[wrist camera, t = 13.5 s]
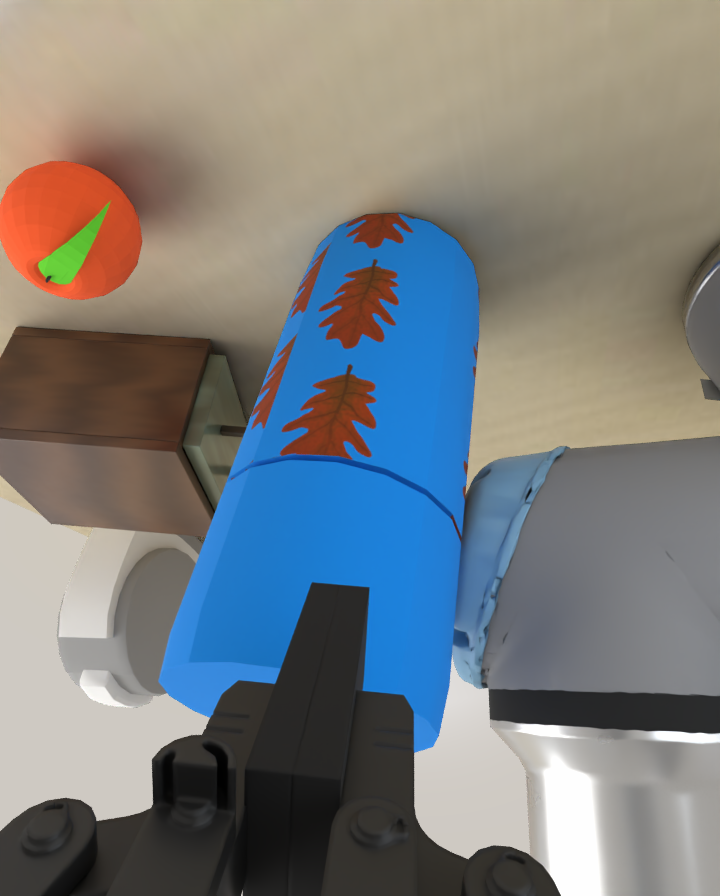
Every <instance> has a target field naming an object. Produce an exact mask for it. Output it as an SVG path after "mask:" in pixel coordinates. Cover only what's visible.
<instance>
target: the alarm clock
mask: <svg viewBox="0 0 720 896" xmlns="http://www.w3.org/2000/svg"><path fill="white" fill-rule="evenodd" d="M202 546H203V543H202V542H201V541H200V540H199V539H197V538H196V537H195V536H188V535H176V534H165V533H153V532H141V531H130V530H118V529H106V528H95V527H94V528H93V529H92V531H91V533H90V535H89V537H88V539H87V541H86V543H85V545H84V548H83V550H82V552H81V554H80V556H79V559H78V561H77V563H76V565H75V568H74V570H73V573H72V575H71V578H70V580H69V583H68V586H67V589H66V592H65V594H64V597H63V601H62V604H61V608H60V612H59V616H58V631H57V638H58V646H59V654H60V657H61V660H62V662H63V665H64V667H65V670H66V672H67V673H68V674H69V676H70V677H71V679H72V680H73V681H74V682H75V684H76V685H78V686H80V687H81V688H82V689H83V690H84V692H85V693H86V694H87V695H88V697H89V698H90V699H92V700H95V701H97V702H99V703H101V704H105V705H110V706H117V707H133V708H137V707H140V706H143V705H146V704H149V703H150V701H151V700H152V698H153V696H160V695H163V694H165V693H167V692H166V691H165V689H164V688H163V687H162V686H161V684H160V683H159V682H158V681H159V677H160V673H161V669H162V664H163V660H164V656H165V652H166V648H167V644H168V639H169V635H170V632H171V629H172V627H173V624H174V621H175V619H176V616H177V613H178V611H179V608H180V605H181V603H182V600H183V597H184V595H185V592H186V589H187V586H188V584H189V581H190V578H191V576H192V573H193V570H194V568H195V565H196V562H197V560H198V557H199V554H200V552H201V549H202Z"/></svg>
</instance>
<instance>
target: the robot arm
mask: <svg viewBox="0 0 720 896" xmlns="http://www.w3.org/2000/svg"><path fill="white" fill-rule="evenodd" d="M682 319H683V325H684V329H685V333H686V338H687V342H688V345H689V347H690V350H691V352H692V354H693V356H694V358H695V360H696V362H697V363H698V365H699V366H700V367H701V369H702V370H703V371H704V372H705V373H706V374H707V375H708V377H709V378H710V379H711V380H704V379H700V380H701V384H702V388H703V392H704V396H705V399H710V400H720V244H719V245H718V246H717V247H716V248H715V249H714V250H713V252H712V253H711V254H710V255H709V256H708V257H707V258H706V260H705V261H704V262H703V263H702V265H701V266H700V268H699V269H698V271H697V272H696V274H695V275H694V277H693V279H692V281H691V283H690V284H689V287H688V289H687V292H686V294H685V298H684V302H683V309H682ZM369 590H370V587H361V586H349V585H338V584H327V583H315V582H312V583H311V586H310V589H309V592H308V594H307V597H306V600H305V603H304V605H303V608H302V611H301V614H300V617H299V619H298V622H297V625H296V628H295V630H294V633H293V636H292V639H291V641H290V644H289V647H288V650H287V653H286V655H285V658H284V661H283V664H282V666H281V669H280V672H279V675H278V678H277V680H276V683H275V684H272V683H262V682H252V681H242V680H238V681H237V682H236V683H235V684H233V685H232V686H231V687H230V688H229V689H227V690H226V691H225V692H224V693H223V694H222V695H221V697H220V699H219V701H218V703H217V705H216V707H215V709H214V711H213V715H211V717H210V719H209V722H208V724H207V726H206V729H205V730H204V732H203V734H202V735H191V736H188V737H184V738H180V739H177V740H174V741H173V742H171V743H170V744H168V745H166V746H165V747H163V748H161V750H160V751H159V752H158V753H157V754H156V756H155V757H154V758H153V759H152V778H153V805H152V807H151V808H150V809H148V810H146V811H144V812H141V813H138V814H134V815H130V816H126V817H120V818H114V819H108V820H102V821H96V817H95V815H94V812H93V810H92V808H91V807H90V806H89V805H87V804H85V803H84V802H82V801H81V800H76V799H69V798H61V799H55V800H49V801H45V802H43V803H41V804H38V805H36V806H33V807H31V808H29V809H27V810H26V811H24V812H23V813H22V814H20V815H19V816H18V817H16V818H15V819H13V820H12V821H11V822H10V823H9V824H8V825H7V826H6V827H4V828H3V829H2V830H1V831H0V896H241V893H242V890H243V896H720V436H716V437H705V438H694V439H683V440H672V441H662V442H651V443H639V444H625V445H612V446H599V447H586V448H573V449H570V448H569V447H567V446H560V447H557V448H556V449H554V450H552V451H549V452H543V453H537V454H530V455H522V456H515V457H507V458H502V459H498V460H495V461H493V462H491V463H489V464H488V465H486V466H485V467H484V468H483V469H481V470H480V471H479V473H478V474H477V475H476V476H475V478H474V479H473V481H472V483H471V485H470V487H469V489H468V491H467V493H466V496H465V505H464V517H463V529H462V539H461V552H460V564H459V576H458V588H457V600H456V611H455V623H454V635H453V647H452V655H453V660H454V664H455V668H456V670H457V672H458V674H459V676H460V677H461V678H462V679H463V680H464V681H466V682H468V683H471V684H473V685H474V686H475V687H476V688H479V689H482V688H489V707H490V727H491V728H492V729H493V730H494V731H495V732H496V733H497V734H498V735H499V737H500V738H501V739H502V740H503V741H504V742H505V743H506V744H507V745H508V746H509V748H510V749H511V750H512V751H513V752H514V753H515V754H516V755H517V756H518V757H519V759H520V761H521V762H522V765H523V766H524V768H525V770H526V784H527V803H528V820H529V838H530V854H531V855H529V854H527V853H525V852H522V851H519V850H517V849H514V848H512V847H506V846H490V847H487V848H483V849H480V850H478V851H477V852H476V853H475V854H474V855H473V856H471V857H470V858H469V859H466V858H463V857H461V856H459V855H456V854H454V853H452V852H450V851H448V850H446V849H444V848H442V847H440V846H439V845H437V844H436V843H435V842H434V841H432V840H431V839H430V838H429V837H428V836H427V835H426V834H425V832H424V831H423V830H422V829H421V827H420V825H419V823H418V821H417V819H416V815H415V809H414V711H413V710H412V708H411V706H410V704H409V703H408V701H407V699H406V698H405V696H404V695H400V694H390V693H380V692H370V691H362V690H363V682H364V668H365V653H366V637H367V621H368V606H369Z"/></svg>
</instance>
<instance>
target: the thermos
mask: <svg viewBox="0 0 720 896" xmlns="http://www.w3.org/2000/svg"><path fill="white" fill-rule="evenodd" d="M478 339H479V287H478V282H477V278H476V273H475V269H474V264H473V263H472V261H471V260H470V258H469V257H468V256H467V254H466V253H465V251H464V250H463V248H462V247H461V246H460V244H459V243H458V241H457V240H456V239H454V238H453V237H451V236H450V235H448V234H447V233H445V232H444V231H442V230H441V229H440V228H438V227H437V226H435V225H434V224H432V223H431V222H428V221H424V220H421V219H417V218H414V217H410V216H407V215H403V214H400V213H392V214H369V215H364V216H362V217H359V218H357V219H354V220H352V221H349V222H347V223H344V224H342V225H339V226H338V227H337V228H336V229H335V230H334V231H333V232H332V233H331V234H330V235H328V236H327V237H326V238H325V239H324V240H323V241H322V242H321V243H320V244H319V246H318V248H317V250H316V252H315V254H314V256H313V258H312V261H311V263H310V265H309V267H308V269H307V271H306V273H305V275H304V278H303V280H302V282H301V284H300V287H299V289H298V292H297V294H296V297H295V299H294V302H293V304H292V307H291V310H290V312H289V315H288V318H287V320H286V323H285V326H284V329H283V331H282V334H281V337H280V339H279V342H278V345H277V347H276V350H275V353H274V355H273V358H272V361H271V363H270V366H269V369H268V372H267V374H266V377H265V380H264V382H263V385H262V388H261V390H260V393H259V396H258V398H257V401H256V404H255V406H254V409H253V412H252V415H251V417H250V420H249V423H248V425H247V428H246V431H245V433H244V436H243V439H242V441H241V444H240V447H239V449H238V452H237V455H236V457H235V460H234V463H233V466H232V468H231V471H230V474H229V476H228V479H227V482H226V484H225V487H224V490H223V492H222V495H221V498H220V501H219V503H218V506H217V509H216V511H215V514H214V517H213V519H212V522H211V525H210V527H209V530H208V533H207V535H206V538H205V541H204V543H203V546H202V549H201V552H200V554H199V557H198V560H197V562H196V565H195V568H194V570H193V573H192V576H191V578H190V581H189V584H188V586H187V589H186V592H185V595H184V597H183V600H182V603H181V605H180V608H179V611H178V613H177V616H176V619H175V621H174V624H173V627H172V629H171V632H170V635H169V639H168V644H167V648H166V652H165V656H164V660H163V664H162V669H161V673H160V677H159V681H158V682H159V683H160V684H161V686H162V687H163V688H164V689H165V691H166V692H167V693H168V694H169V696H171V697H172V698H174V699H175V700H177V701H179V702H181V703H182V704H184V705H185V706H187V707H188V708H190V709H192V710H193V711H195V712H198V713H200V714H203V715H205V716H207V717H211V715H213V711H214V709H215V707H216V705H217V703H218V701H219V699H220V697H221V695H222V694H223V693H224V692H225V691H226V690H227V689H229V688H230V687H231V686H232V685H233V684H235V683H236V682H237V681H238V680H242V681H252V682H262V683H272V684H275V683H276V680H277V678H278V675H279V672H280V669H281V666H282V664H283V661H284V658H285V655H286V653H287V650H288V647H289V644H290V641H291V639H292V636H293V633H294V630H295V628H296V625H297V622H298V619H299V617H300V614H301V611H302V608H303V605H304V603H305V600H306V597H307V594H308V592H309V589H310V586H311V583H312V582H315V583H327V584H338V585H349V586H361V587H370V590H369V606H368V621H367V637H366V653H365V668H364V682H363V690H362V691H370V692H380V693H390V694H400V695H404V696H405V698H406V699H407V701H408V703H409V704H410V706H411V708H412V710H413V711H414V753H415V752H418V751H421V750H425V749H427V748H431V747H433V746H434V744H435V742H436V740H437V738H438V736H439V732H440V728H441V722H442V718H443V713H444V708H445V703H446V699H447V694H448V689H449V683H450V671H451V670H450V669H451V659H452V647H453V635H454V623H455V611H456V600H457V588H458V576H459V564H460V552H461V539H462V529H463V517H464V505H465V493H466V481H467V469H468V457H469V446H470V434H471V422H472V410H473V398H474V386H475V375H476V363H477V351H478Z"/></svg>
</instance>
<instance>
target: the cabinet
mask: <svg viewBox="0 0 720 896" xmlns="http://www.w3.org/2000/svg"><path fill="white" fill-rule="evenodd" d="M12 335H13V336H12V337H11V339H10V340H9V342H8V344H7V346H6V348H5V350H4V352H3V354H2V356H1V357H0V475H1V476H2V477H3V478H4V479H5V480H6V481H7V482H8V483H9V484H10V485H11V486H12V487H13V488H14V489H15V490H16V491H17V492H18V493H19V494H20V495H22V496H23V497H24V498H25V499H26V500H27V501H28V502H29V503H30V504H31V505H32V506H33V507H34V508H35V509H36V510H37V511H38V512H39V513H40V514H41V515H42V516H43V517H44V518H46V519H47V520H48V521H49V522H50V523H51V524H60V525H72V526H83V527H95V528H106V529H118V530H130V531H141V532H153V533H165V534H176V535H188V536H199V537H206V535H207V533H208V530H209V527H210V525H211V522H212V519H213V517H214V514H215V511H214V509H213V506H212V504H211V502H210V500H209V502H208V500H207V498H206V496H205V494H204V492H203V490H202V488H201V486H200V484H199V482H198V480H197V478H196V476H195V474H194V472H193V470H192V468H191V466H190V464H189V462H188V460H187V458H186V456H185V453H184V451H183V449H182V445H183V441H184V438H185V435H186V431H187V428H188V425H189V421H190V418H191V415H192V411H193V408H194V404H195V401H196V398H197V394H198V391H199V388H200V384H201V381H202V378H203V374H204V371H205V368H206V364H207V361H208V357H209V355H215V353H214V350H213V347H212V344H211V341H210V339H196V338H180V337H164V336H149V335H133V334H117V333H101V332H86V331H70V330H54V329H39V328H23V327H16V329H15V330H14V332H13V334H12Z"/></svg>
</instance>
